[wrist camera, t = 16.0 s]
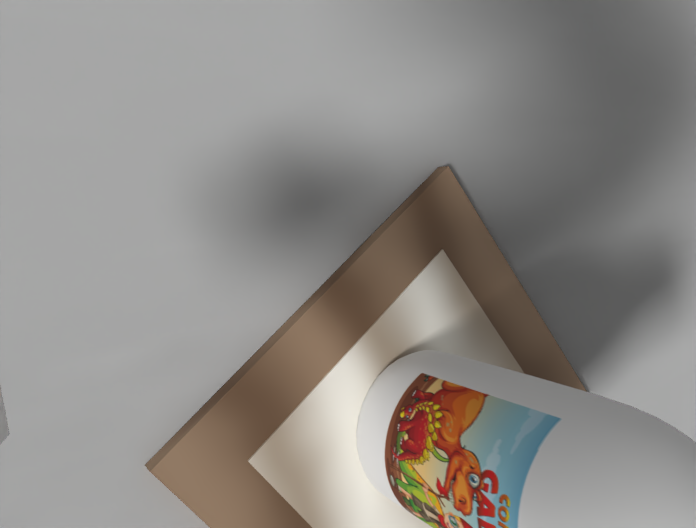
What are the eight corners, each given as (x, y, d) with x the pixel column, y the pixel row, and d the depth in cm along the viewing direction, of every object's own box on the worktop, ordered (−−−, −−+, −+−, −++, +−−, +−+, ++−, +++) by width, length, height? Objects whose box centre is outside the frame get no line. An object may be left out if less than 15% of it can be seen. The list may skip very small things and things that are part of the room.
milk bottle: (421, 315, 34) (915, 421, 17) (495, 412, 37) (975, 585, 20) (321, 435, 31) (784, 707, 14) (409, 528, 34) (877, 844, 17)
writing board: (438, 167, 35) (449, 166, 34) (581, 396, 42) (593, 400, 41) (144, 465, 28) (150, 472, 27) (375, 680, 35) (385, 690, 34)
